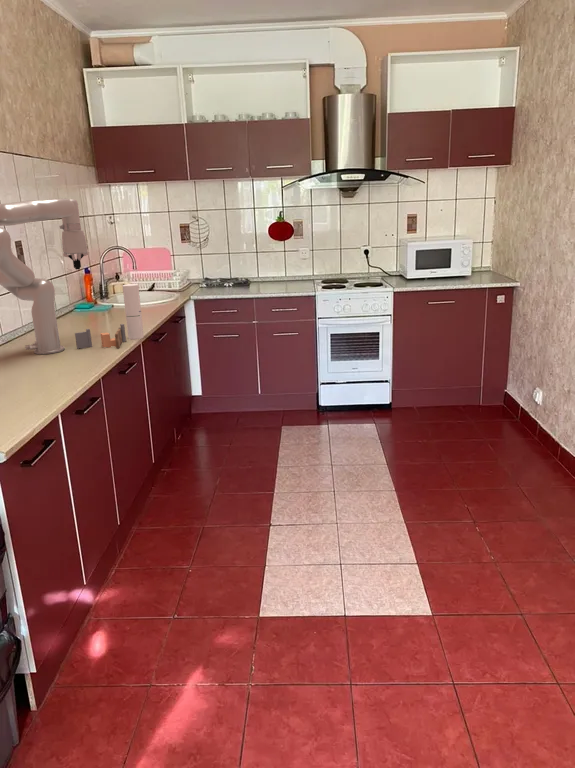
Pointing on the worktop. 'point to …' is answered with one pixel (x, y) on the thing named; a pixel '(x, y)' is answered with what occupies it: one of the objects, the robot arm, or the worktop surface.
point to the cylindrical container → (133, 311)
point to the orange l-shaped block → (107, 340)
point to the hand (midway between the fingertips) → (77, 269)
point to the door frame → (85, 338)
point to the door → (118, 338)
